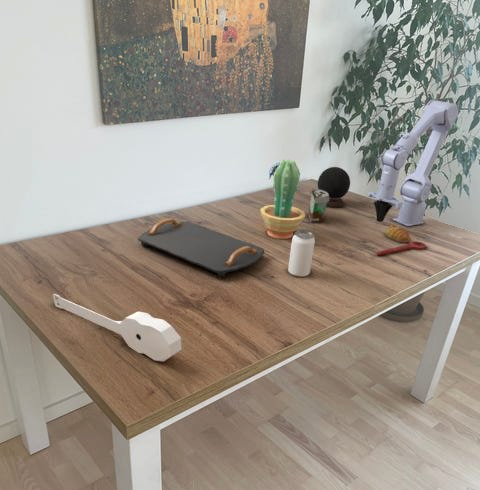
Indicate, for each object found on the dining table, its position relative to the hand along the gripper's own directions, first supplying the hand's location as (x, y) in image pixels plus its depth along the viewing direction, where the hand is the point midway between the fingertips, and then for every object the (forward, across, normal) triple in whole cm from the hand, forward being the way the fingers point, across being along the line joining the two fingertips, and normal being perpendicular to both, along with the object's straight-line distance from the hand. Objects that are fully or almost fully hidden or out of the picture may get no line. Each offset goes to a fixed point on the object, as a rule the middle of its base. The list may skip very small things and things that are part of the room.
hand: (379, 220), depth 178 cm
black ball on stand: (+3, -30, +3) cm, 30 cm away
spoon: (+3, +18, -8) cm, 20 cm away
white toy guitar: (+3, +24, -110) cm, 112 cm away
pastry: (+3, +10, 0) cm, 10 cm away
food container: (+3, -17, -15) cm, 23 cm away
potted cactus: (+3, -10, -38) cm, 40 cm away
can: (+3, +17, -51) cm, 54 cm away
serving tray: (+3, -7, -71) cm, 72 cm away
